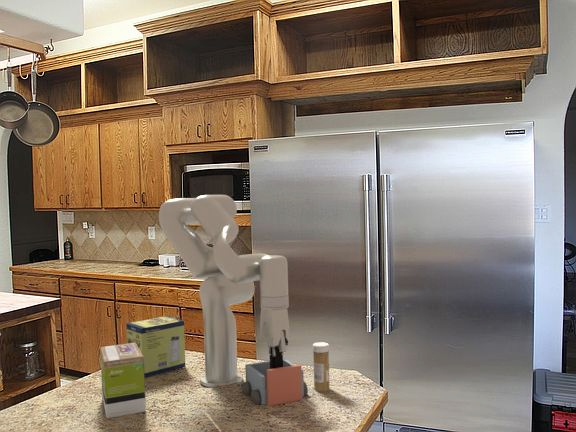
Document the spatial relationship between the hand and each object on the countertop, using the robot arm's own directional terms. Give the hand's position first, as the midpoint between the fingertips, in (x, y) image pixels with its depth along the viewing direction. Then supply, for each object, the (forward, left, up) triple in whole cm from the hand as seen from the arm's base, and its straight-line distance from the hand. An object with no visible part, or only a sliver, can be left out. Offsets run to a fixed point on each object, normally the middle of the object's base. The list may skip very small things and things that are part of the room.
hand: (276, 369), depth 142 cm
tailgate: (+5, 0, -7) cm, 9 cm away
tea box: (-15, -38, -8) cm, 42 cm away
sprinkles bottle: (+1, +13, -8) cm, 15 cm away
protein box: (-42, -24, -8) cm, 49 cm away
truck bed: (-2, 0, -8) cm, 8 cm away
